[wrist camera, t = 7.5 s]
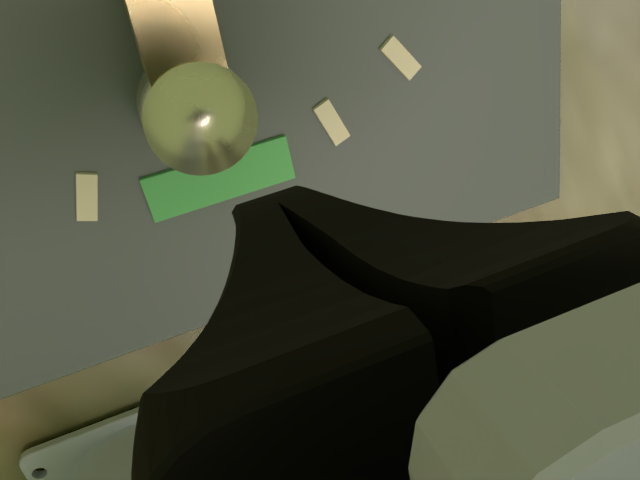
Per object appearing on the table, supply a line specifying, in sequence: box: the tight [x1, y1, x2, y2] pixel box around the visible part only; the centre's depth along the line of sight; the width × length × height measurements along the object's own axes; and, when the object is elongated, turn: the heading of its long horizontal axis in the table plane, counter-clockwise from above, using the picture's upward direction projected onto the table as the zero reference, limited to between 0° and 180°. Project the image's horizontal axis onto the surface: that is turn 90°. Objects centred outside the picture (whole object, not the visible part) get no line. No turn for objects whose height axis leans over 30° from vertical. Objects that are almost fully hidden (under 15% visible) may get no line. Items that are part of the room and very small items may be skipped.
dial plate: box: [0, 0, 561, 399], centre depth 18 cm, size 20×26×1 cm
